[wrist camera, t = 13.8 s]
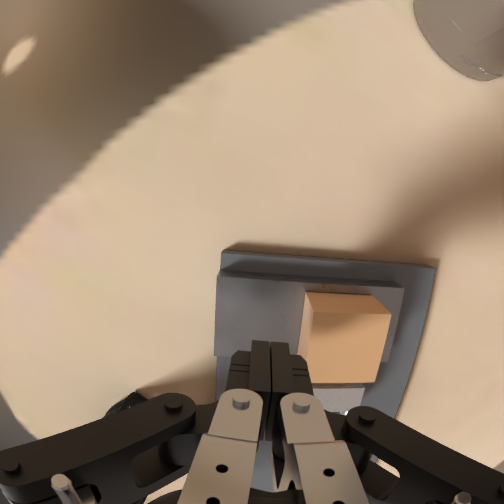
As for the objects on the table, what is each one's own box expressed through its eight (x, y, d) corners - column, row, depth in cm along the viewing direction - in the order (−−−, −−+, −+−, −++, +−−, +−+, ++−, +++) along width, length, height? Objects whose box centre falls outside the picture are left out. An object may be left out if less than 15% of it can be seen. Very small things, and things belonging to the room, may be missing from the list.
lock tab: (305, 291, 18) (313, 311, 15) (372, 295, 17) (391, 314, 15) (296, 355, 18) (302, 382, 15) (360, 356, 18) (374, 382, 15)
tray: (223, 249, 20) (221, 253, 19) (428, 265, 20) (435, 268, 19) (216, 518, 26) (215, 525, 25) (340, 519, 25) (341, 525, 24)
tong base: (220, 269, 19) (211, 286, 16) (395, 281, 19) (418, 298, 16) (215, 517, 24) (211, 541, 21) (319, 519, 24) (323, 543, 21)
